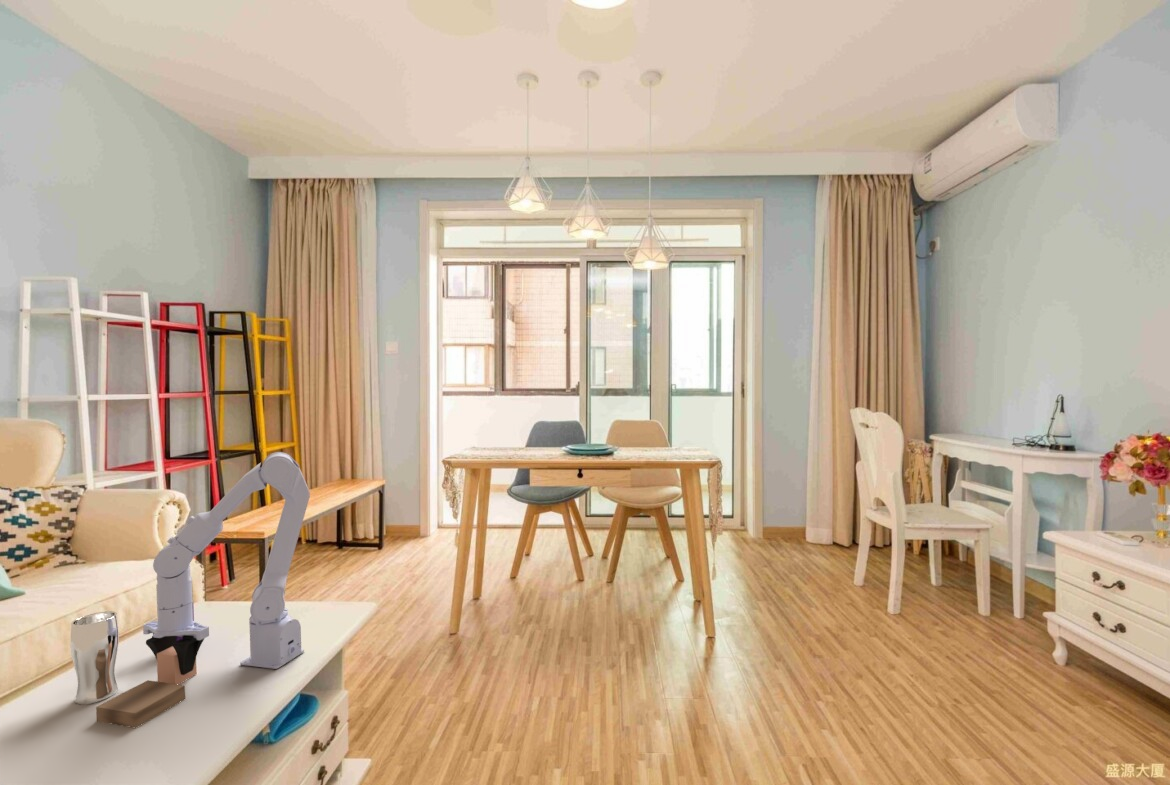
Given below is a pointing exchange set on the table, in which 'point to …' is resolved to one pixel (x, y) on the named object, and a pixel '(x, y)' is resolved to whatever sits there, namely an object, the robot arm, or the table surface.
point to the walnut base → (140, 703)
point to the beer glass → (95, 655)
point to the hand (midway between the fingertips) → (177, 671)
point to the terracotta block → (171, 667)
